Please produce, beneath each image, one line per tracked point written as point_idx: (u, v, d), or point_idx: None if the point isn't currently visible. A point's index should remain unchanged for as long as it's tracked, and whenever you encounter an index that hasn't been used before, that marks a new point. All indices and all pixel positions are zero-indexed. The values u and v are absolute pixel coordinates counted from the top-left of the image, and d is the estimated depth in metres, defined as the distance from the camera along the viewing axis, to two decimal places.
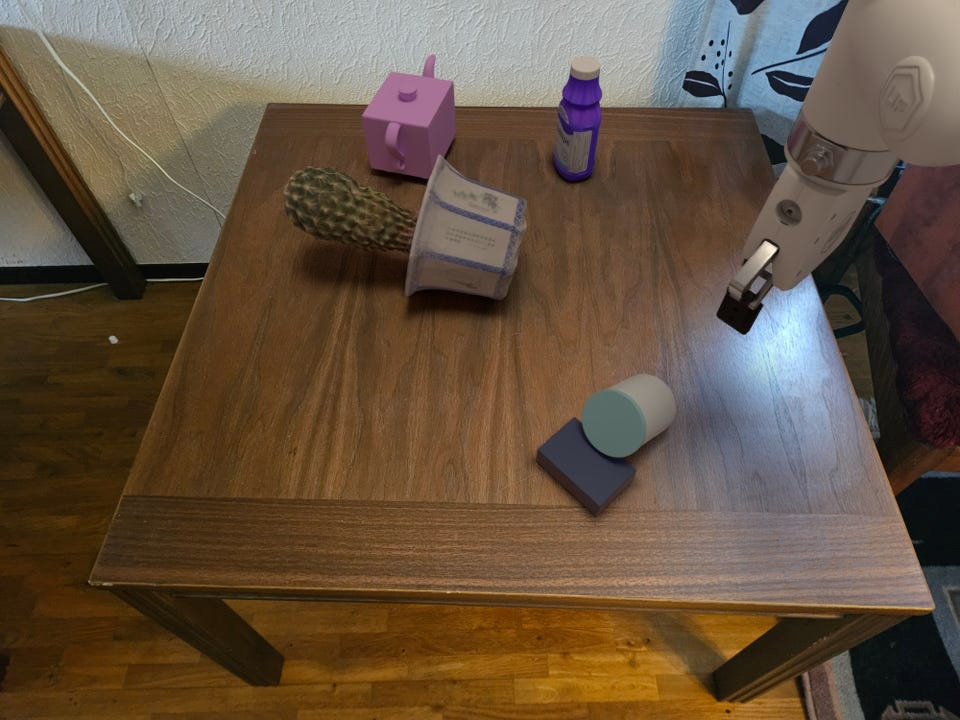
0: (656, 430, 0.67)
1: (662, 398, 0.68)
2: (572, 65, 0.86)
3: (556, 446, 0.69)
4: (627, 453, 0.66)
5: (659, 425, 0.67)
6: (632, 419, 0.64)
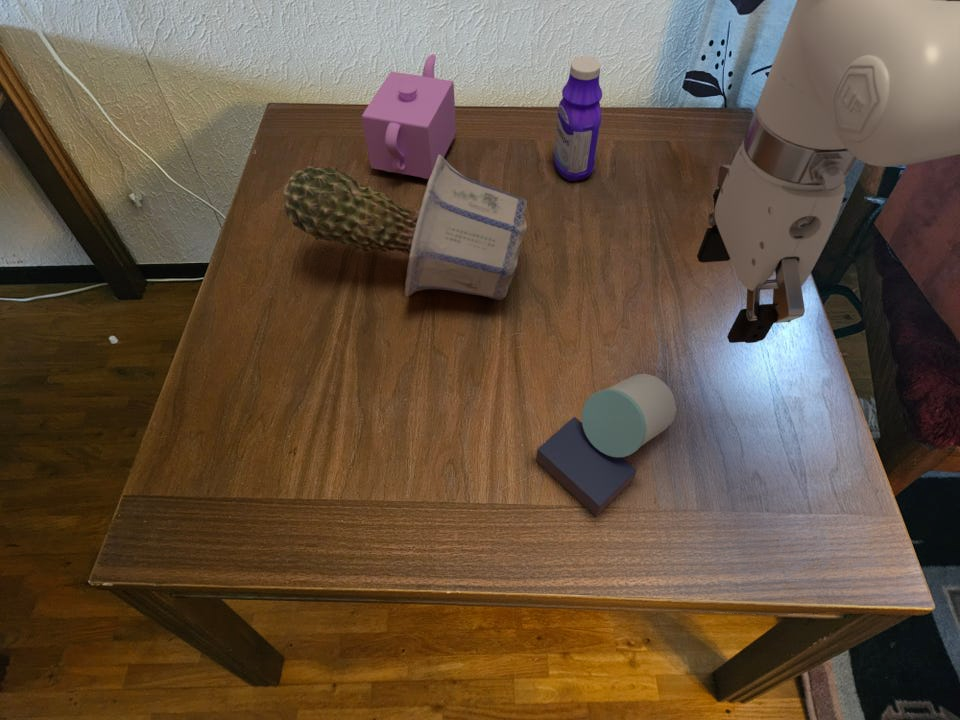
0: (656, 430, 0.67)
1: (662, 398, 0.68)
2: (572, 65, 0.86)
3: (556, 446, 0.69)
4: (627, 453, 0.66)
5: (659, 425, 0.67)
6: (632, 419, 0.64)
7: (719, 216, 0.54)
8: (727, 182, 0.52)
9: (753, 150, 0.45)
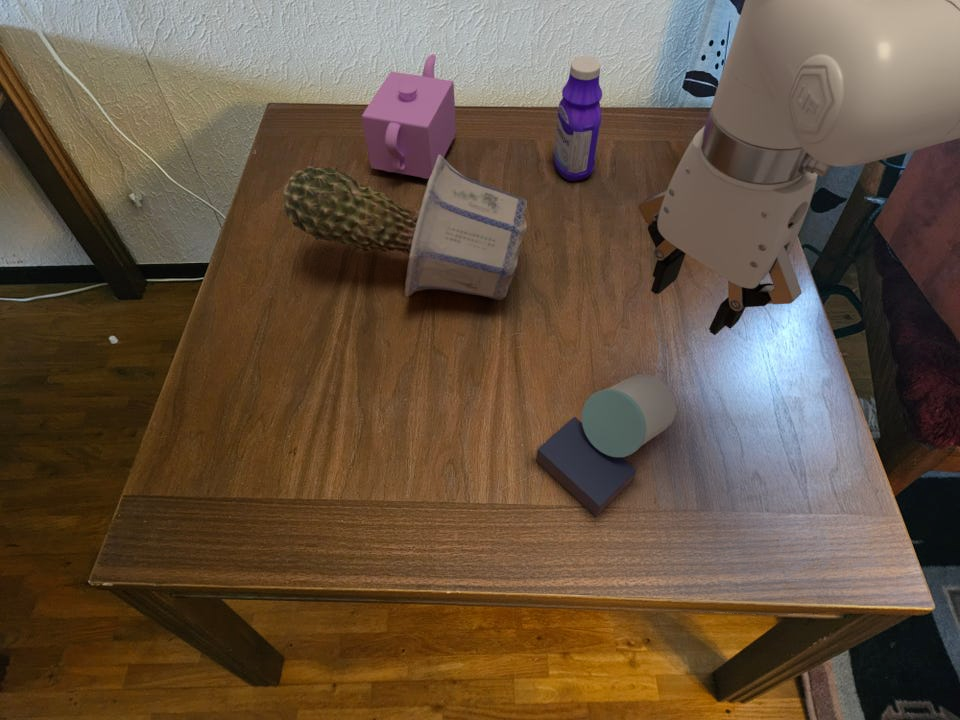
0: (656, 430, 0.67)
1: (662, 398, 0.68)
2: (572, 65, 0.86)
3: (556, 446, 0.69)
4: (627, 453, 0.66)
5: (659, 425, 0.67)
6: (632, 419, 0.64)
7: (672, 233, 0.53)
8: (674, 201, 0.50)
9: (735, 168, 0.43)
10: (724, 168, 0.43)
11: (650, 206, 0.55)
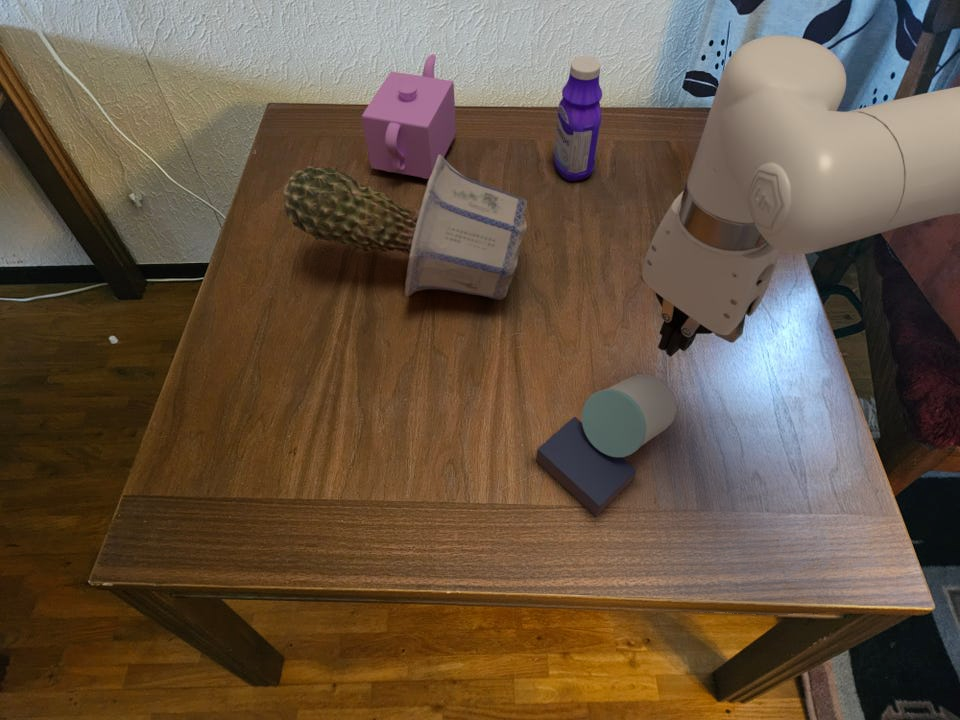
0: (656, 430, 0.67)
1: (662, 398, 0.68)
2: (572, 65, 0.86)
3: (556, 446, 0.69)
4: (627, 453, 0.66)
5: (659, 425, 0.67)
6: (632, 419, 0.64)
7: (655, 283, 0.58)
8: (656, 256, 0.56)
9: (708, 236, 0.48)
10: (698, 235, 0.49)
11: None
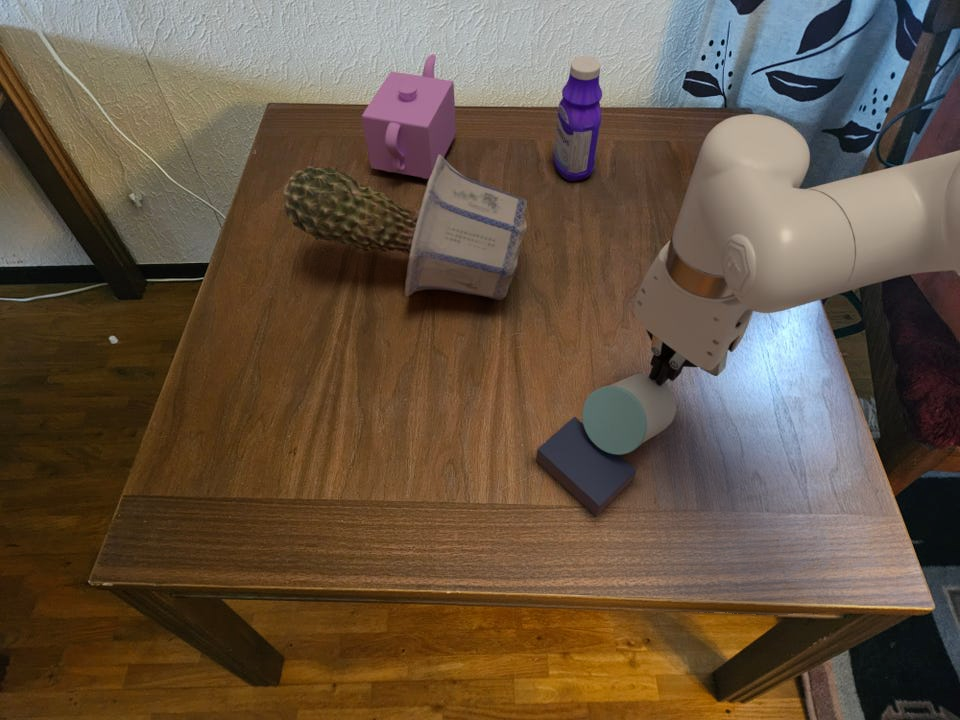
0: (657, 428, 0.67)
1: (662, 396, 0.68)
2: (572, 65, 0.86)
3: (556, 446, 0.69)
4: (628, 450, 0.65)
5: (659, 423, 0.67)
6: (633, 415, 0.64)
7: (645, 321, 0.63)
8: (645, 297, 0.61)
9: (691, 286, 0.53)
10: (682, 284, 0.54)
11: None
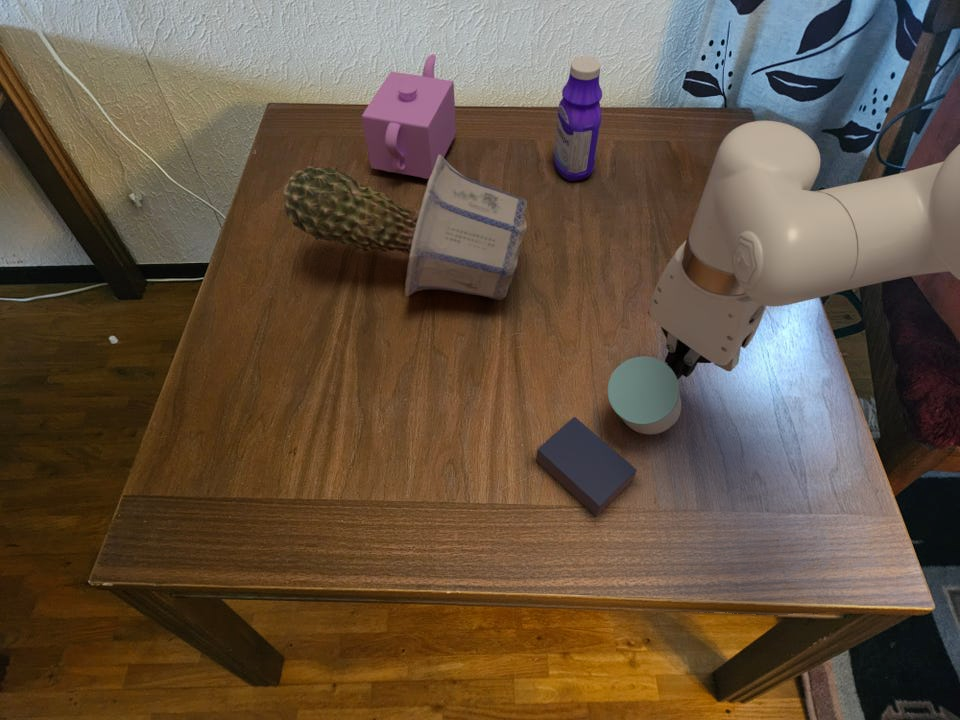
0: (675, 412, 0.68)
1: None
2: (572, 65, 0.86)
3: (556, 446, 0.69)
4: (656, 419, 0.65)
5: (677, 409, 0.69)
6: (667, 384, 0.66)
7: (660, 319, 0.66)
8: (661, 296, 0.63)
9: (706, 284, 0.56)
10: (698, 282, 0.56)
11: None
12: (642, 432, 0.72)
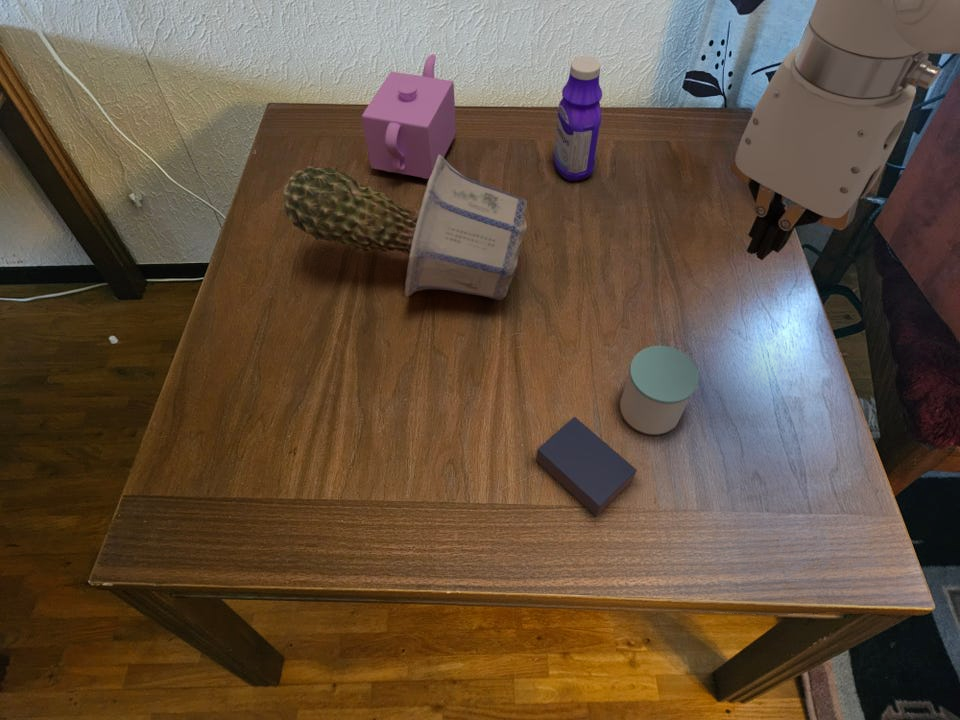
0: (685, 406, 0.70)
1: None
2: (572, 65, 0.86)
3: (556, 446, 0.69)
4: (678, 398, 0.66)
5: None
6: (688, 370, 0.68)
7: (752, 166, 0.52)
8: (758, 130, 0.50)
9: (836, 82, 0.42)
10: (823, 84, 0.43)
11: None
12: (645, 429, 0.72)
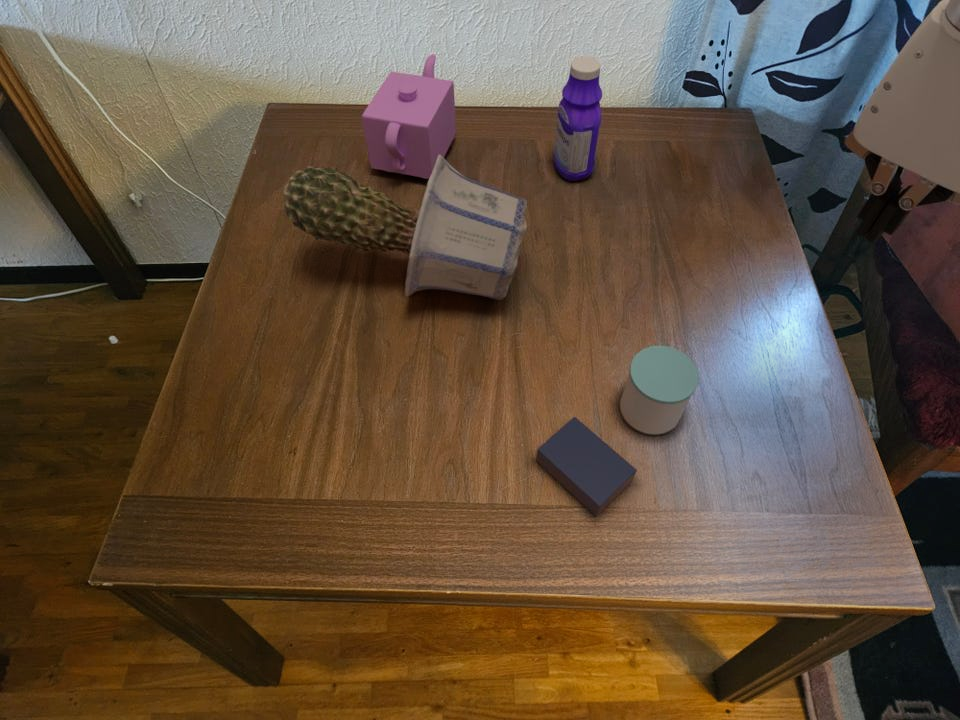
0: (685, 406, 0.70)
1: None
2: (572, 65, 0.86)
3: (556, 446, 0.69)
4: (678, 398, 0.66)
5: None
6: (688, 370, 0.68)
7: (876, 138, 0.47)
8: (889, 96, 0.45)
9: None
10: None
11: None
12: (645, 429, 0.72)
